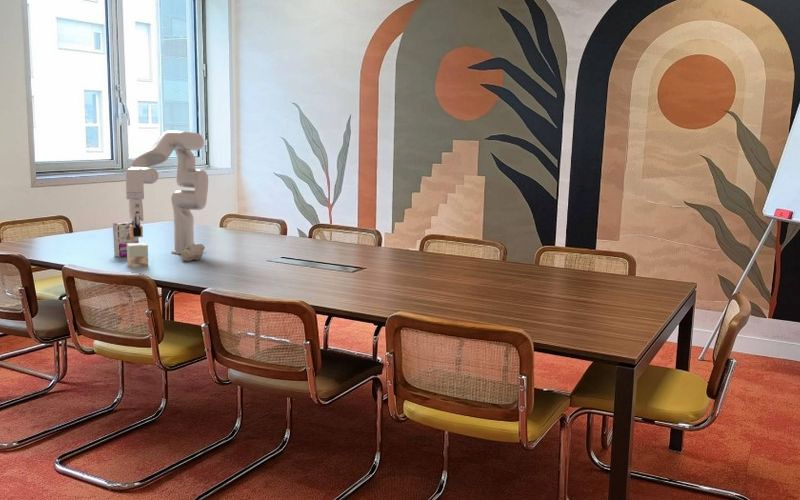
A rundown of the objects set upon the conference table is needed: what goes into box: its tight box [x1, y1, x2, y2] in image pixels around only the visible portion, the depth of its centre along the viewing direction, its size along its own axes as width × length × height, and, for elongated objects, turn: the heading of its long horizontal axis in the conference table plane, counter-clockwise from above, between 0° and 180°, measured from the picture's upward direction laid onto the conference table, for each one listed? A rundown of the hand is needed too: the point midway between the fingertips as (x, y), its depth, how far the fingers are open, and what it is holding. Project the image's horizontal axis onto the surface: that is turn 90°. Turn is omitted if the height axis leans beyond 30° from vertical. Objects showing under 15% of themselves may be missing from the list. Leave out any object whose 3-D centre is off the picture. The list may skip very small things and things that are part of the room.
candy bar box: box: [112, 220, 140, 258], centre depth 383 cm, size 11×5×16 cm, turn 143°
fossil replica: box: [180, 243, 206, 262], centre depth 376 cm, size 12×8×10 cm
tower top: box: [127, 242, 149, 257], centre depth 359 cm, size 8×8×5 cm
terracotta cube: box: [129, 224, 144, 238], centre depth 358 cm, size 5×5×5 cm
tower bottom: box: [126, 255, 149, 268], centre depth 360 cm, size 8×8×5 cm
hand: (136, 235), depth 358 cm, fingers closed on terracotta cube, 4 cm apart
